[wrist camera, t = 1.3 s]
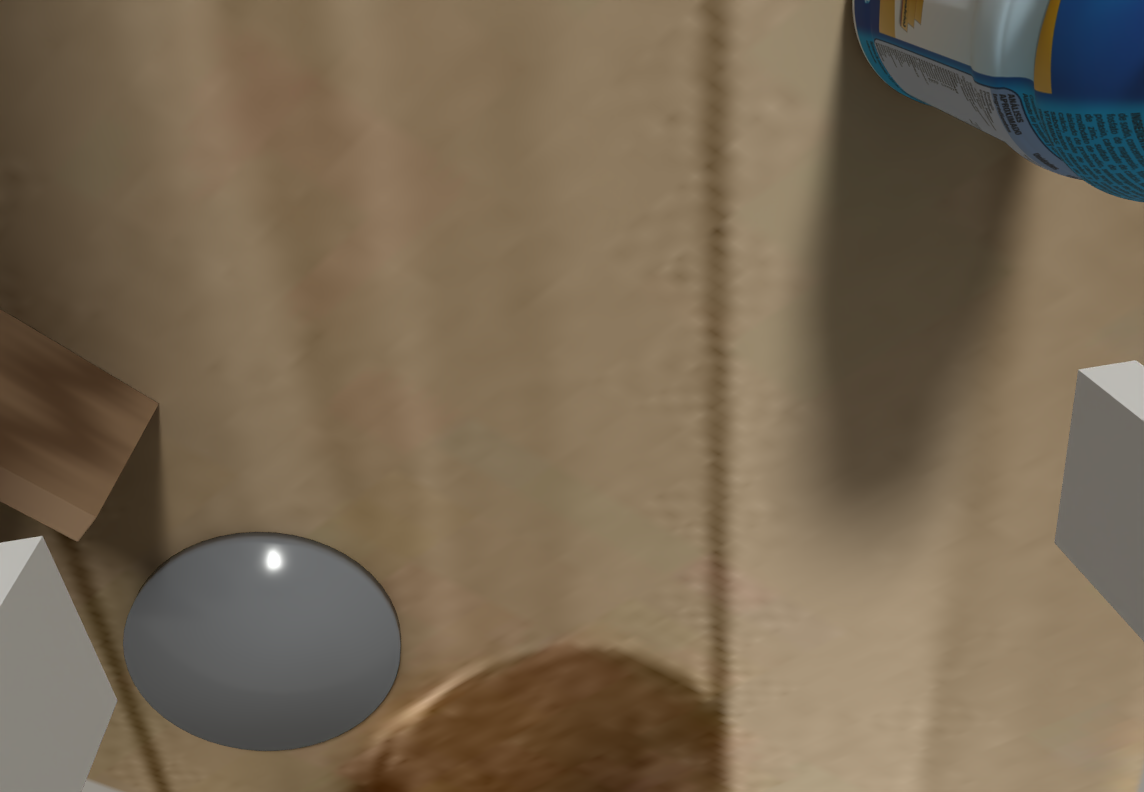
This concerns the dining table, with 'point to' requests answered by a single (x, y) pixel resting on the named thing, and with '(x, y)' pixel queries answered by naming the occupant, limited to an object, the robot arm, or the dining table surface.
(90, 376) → the walnut u-shaped stand
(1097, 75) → the beverage bottle
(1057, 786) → the dining table surface
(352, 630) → the slate coaster
